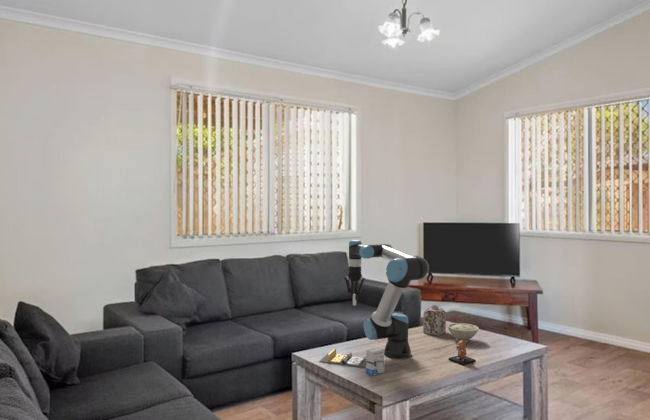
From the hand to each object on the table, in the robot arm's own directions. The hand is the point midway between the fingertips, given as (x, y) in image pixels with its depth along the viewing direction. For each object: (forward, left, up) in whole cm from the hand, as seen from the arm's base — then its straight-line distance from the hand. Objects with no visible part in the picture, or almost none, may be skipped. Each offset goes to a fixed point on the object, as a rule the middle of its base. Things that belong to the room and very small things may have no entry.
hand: (354, 304), depth 292 cm
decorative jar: (-42, -47, -25) cm, 68 cm away
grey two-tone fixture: (-3, +30, -24) cm, 38 cm away
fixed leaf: (-8, +30, -24) cm, 39 cm away
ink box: (-23, +41, -25) cm, 53 cm away
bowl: (-61, -34, -25) cm, 74 cm away
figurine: (-63, +7, -25) cm, 68 cm away
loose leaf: (-1, +30, -24) cm, 38 cm away
